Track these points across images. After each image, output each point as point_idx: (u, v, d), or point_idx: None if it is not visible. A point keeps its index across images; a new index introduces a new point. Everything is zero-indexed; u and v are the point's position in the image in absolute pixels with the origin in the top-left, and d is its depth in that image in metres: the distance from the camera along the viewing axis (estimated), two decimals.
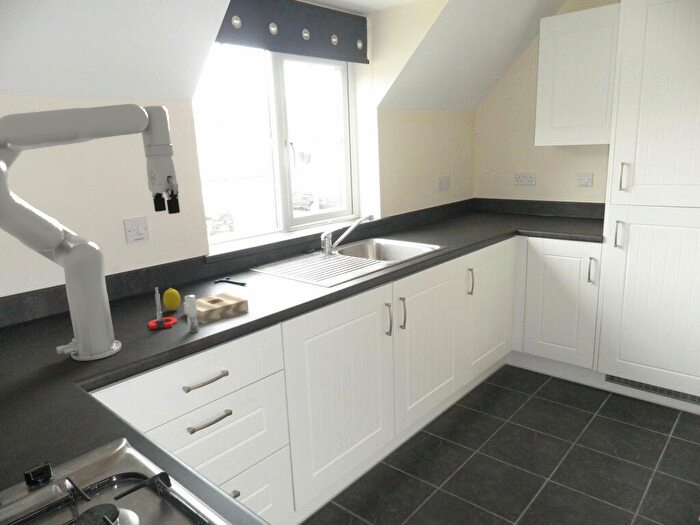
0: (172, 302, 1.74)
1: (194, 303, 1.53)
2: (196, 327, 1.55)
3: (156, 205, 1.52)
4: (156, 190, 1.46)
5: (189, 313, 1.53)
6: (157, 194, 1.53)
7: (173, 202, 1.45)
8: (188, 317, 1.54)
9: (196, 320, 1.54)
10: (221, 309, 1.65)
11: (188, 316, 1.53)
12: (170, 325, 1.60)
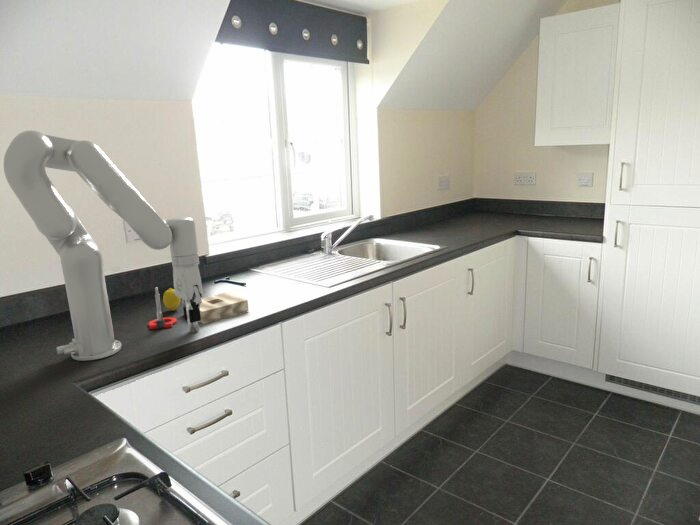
0: (172, 302, 1.74)
1: None
2: (196, 327, 1.55)
3: (186, 314, 1.55)
4: (182, 297, 1.50)
5: None
6: None
7: (194, 312, 1.52)
8: (188, 317, 1.54)
9: None
10: (221, 309, 1.65)
11: (188, 316, 1.53)
12: (170, 325, 1.60)
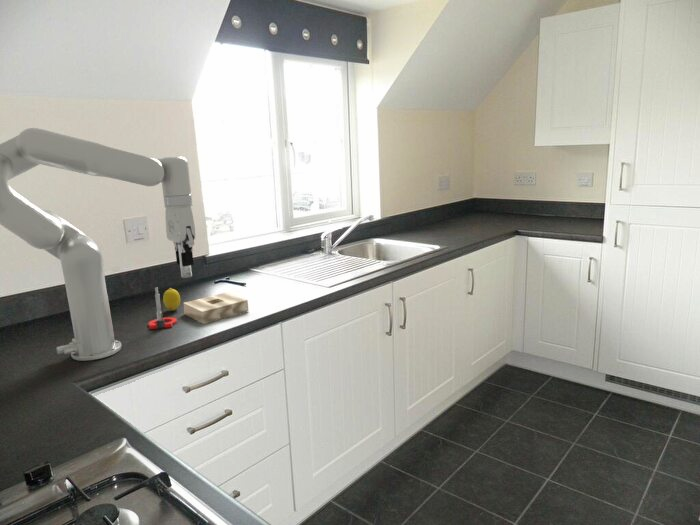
0: (172, 302, 1.74)
1: None
2: (189, 272, 1.51)
3: (178, 258, 1.51)
4: (174, 239, 1.47)
5: None
6: None
7: (187, 255, 1.48)
8: (181, 261, 1.50)
9: None
10: (221, 309, 1.65)
11: (181, 260, 1.50)
12: (170, 325, 1.60)
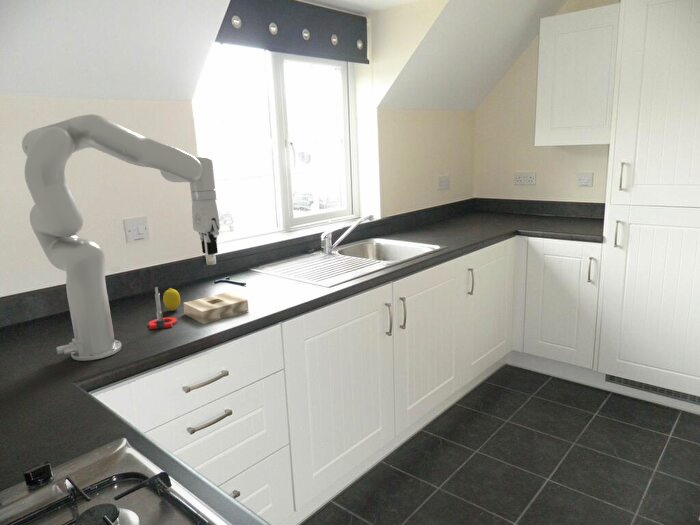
0: (172, 302, 1.74)
1: None
2: (213, 259, 1.67)
3: (204, 247, 1.68)
4: (201, 230, 1.63)
5: None
6: None
7: (212, 244, 1.65)
8: (206, 250, 1.66)
9: None
10: (221, 309, 1.65)
11: (206, 249, 1.66)
12: (170, 325, 1.60)
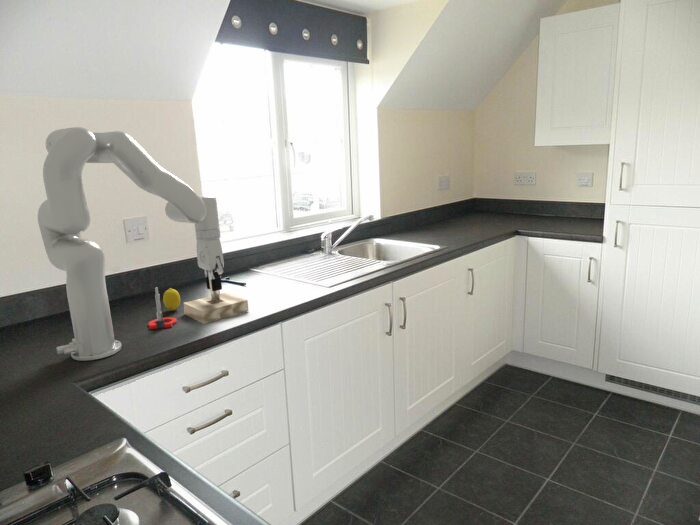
0: (172, 302, 1.74)
1: None
2: (218, 295, 1.70)
3: (208, 283, 1.70)
4: (205, 268, 1.66)
5: None
6: None
7: (216, 281, 1.68)
8: (211, 286, 1.69)
9: None
10: (221, 309, 1.65)
11: (211, 285, 1.69)
12: (170, 325, 1.60)
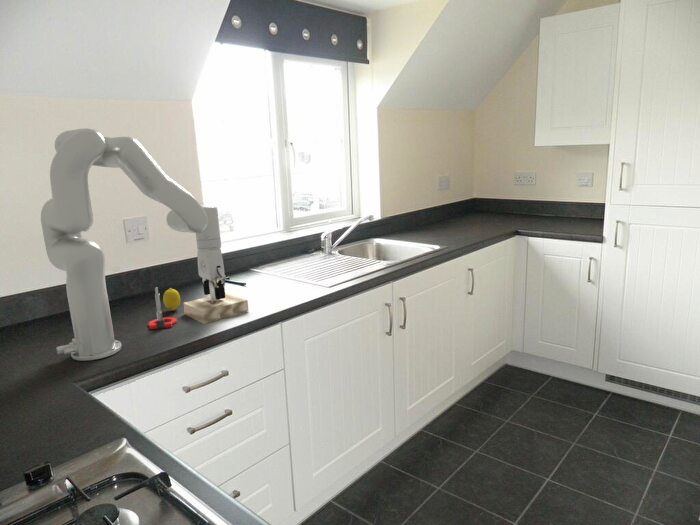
0: (172, 302, 1.74)
1: None
2: None
3: (205, 289, 1.73)
4: (206, 277, 1.66)
5: (213, 296, 1.69)
6: (206, 279, 1.73)
7: (220, 290, 1.66)
8: (212, 300, 1.70)
9: None
10: (221, 309, 1.65)
11: (212, 299, 1.70)
12: (170, 325, 1.60)
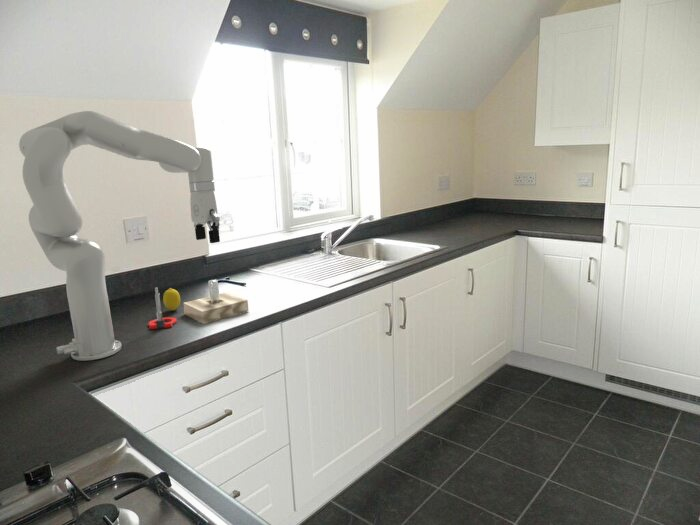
0: (172, 302, 1.74)
1: (217, 287, 1.70)
2: None
3: (197, 234, 1.69)
4: (199, 221, 1.62)
5: (212, 296, 1.69)
6: (198, 224, 1.69)
7: (214, 233, 1.62)
8: (211, 300, 1.70)
9: (218, 302, 1.71)
10: (221, 309, 1.65)
11: (211, 299, 1.70)
12: (170, 325, 1.60)
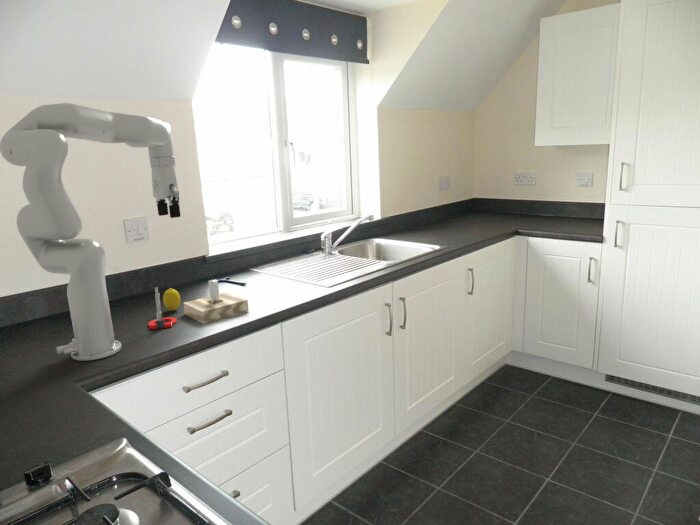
0: (172, 302, 1.74)
1: (217, 287, 1.70)
2: None
3: (159, 210, 1.72)
4: (160, 196, 1.65)
5: (212, 296, 1.69)
6: (160, 200, 1.72)
7: (174, 207, 1.64)
8: (211, 300, 1.70)
9: (218, 302, 1.71)
10: (221, 309, 1.65)
11: (211, 299, 1.70)
12: (170, 325, 1.60)
